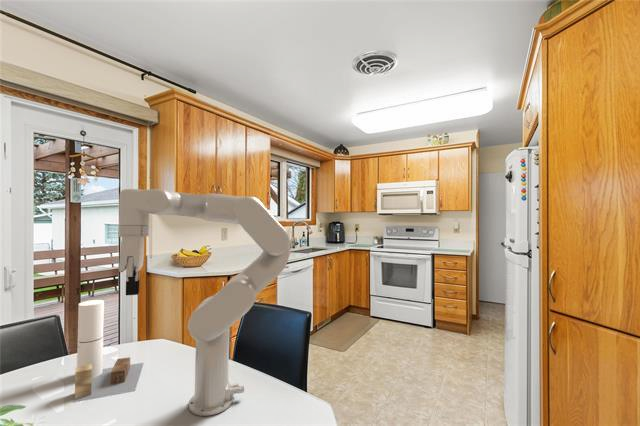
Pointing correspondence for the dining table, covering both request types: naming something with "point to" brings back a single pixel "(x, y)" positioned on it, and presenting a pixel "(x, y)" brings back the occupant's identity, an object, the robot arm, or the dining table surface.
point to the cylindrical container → (91, 335)
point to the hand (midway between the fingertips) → (132, 294)
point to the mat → (104, 388)
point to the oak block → (83, 381)
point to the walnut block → (120, 371)
